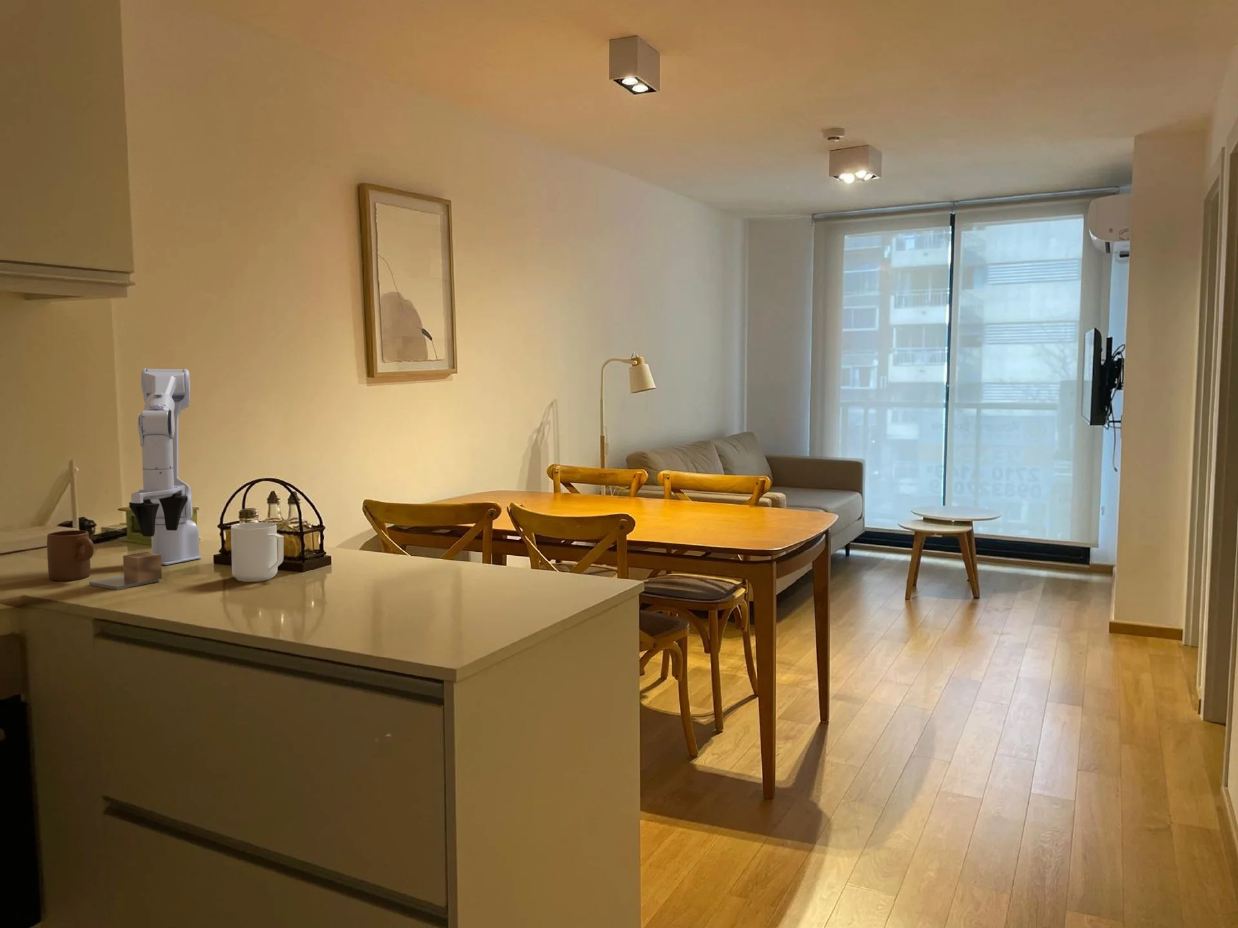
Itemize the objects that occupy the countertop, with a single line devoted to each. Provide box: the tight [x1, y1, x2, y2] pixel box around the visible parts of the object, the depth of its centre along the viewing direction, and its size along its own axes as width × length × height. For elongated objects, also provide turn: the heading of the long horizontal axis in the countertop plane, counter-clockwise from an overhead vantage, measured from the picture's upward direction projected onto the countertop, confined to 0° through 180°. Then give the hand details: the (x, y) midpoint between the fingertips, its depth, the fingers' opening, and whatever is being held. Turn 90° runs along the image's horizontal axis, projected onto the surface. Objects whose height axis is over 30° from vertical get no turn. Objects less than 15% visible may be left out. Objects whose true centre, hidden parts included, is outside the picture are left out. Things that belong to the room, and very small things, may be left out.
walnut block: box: [122, 551, 163, 583], centre depth 189 cm, size 5×5×5 cm
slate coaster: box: [88, 574, 160, 591], centre depth 188 cm, size 9×9×1 cm
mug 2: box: [230, 521, 285, 583], centre depth 193 cm, size 12×9×11 cm
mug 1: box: [46, 529, 95, 582], centre depth 191 cm, size 12×8×9 cm, turn 60°
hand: (160, 533), depth 193 cm, fingers open, 7 cm apart
